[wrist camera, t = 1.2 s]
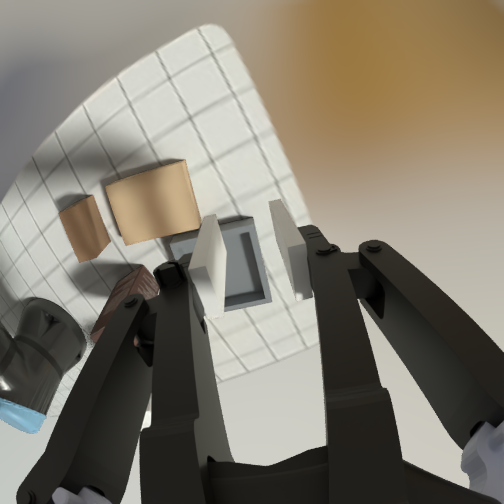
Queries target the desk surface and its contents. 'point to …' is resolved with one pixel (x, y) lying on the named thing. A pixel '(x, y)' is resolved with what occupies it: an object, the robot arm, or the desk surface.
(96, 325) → the box
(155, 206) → the light brown wooden block
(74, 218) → the brown rectangular block
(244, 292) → the tray
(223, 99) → the desk surface
